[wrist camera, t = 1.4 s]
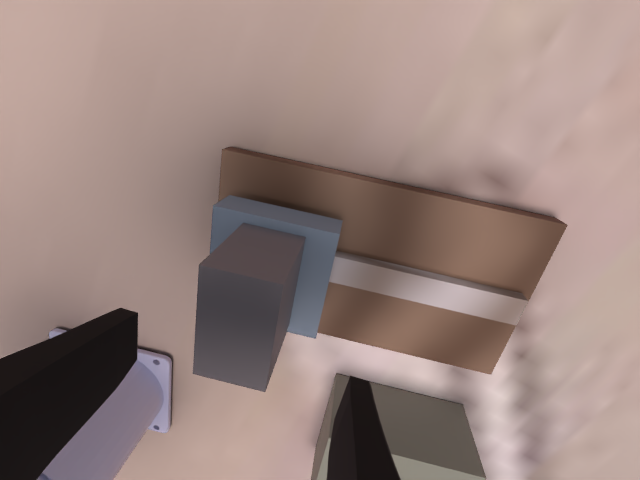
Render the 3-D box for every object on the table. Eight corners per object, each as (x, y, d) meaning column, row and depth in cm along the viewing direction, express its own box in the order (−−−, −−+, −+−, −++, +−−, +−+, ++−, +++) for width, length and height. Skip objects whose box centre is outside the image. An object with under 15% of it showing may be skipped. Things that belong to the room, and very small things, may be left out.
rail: (218, 296, 23) (204, 313, 21) (230, 146, 19) (215, 151, 17) (484, 360, 22) (495, 384, 20) (555, 217, 18) (576, 230, 16)
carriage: (226, 285, 21) (157, 374, 14) (235, 191, 18) (157, 241, 11) (322, 308, 20) (300, 410, 14) (343, 215, 18) (329, 282, 11)
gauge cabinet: (315, 448, 27) (304, 522, 22) (336, 373, 24) (328, 441, 19) (427, 477, 27) (440, 559, 22) (462, 404, 23) (487, 482, 19)
